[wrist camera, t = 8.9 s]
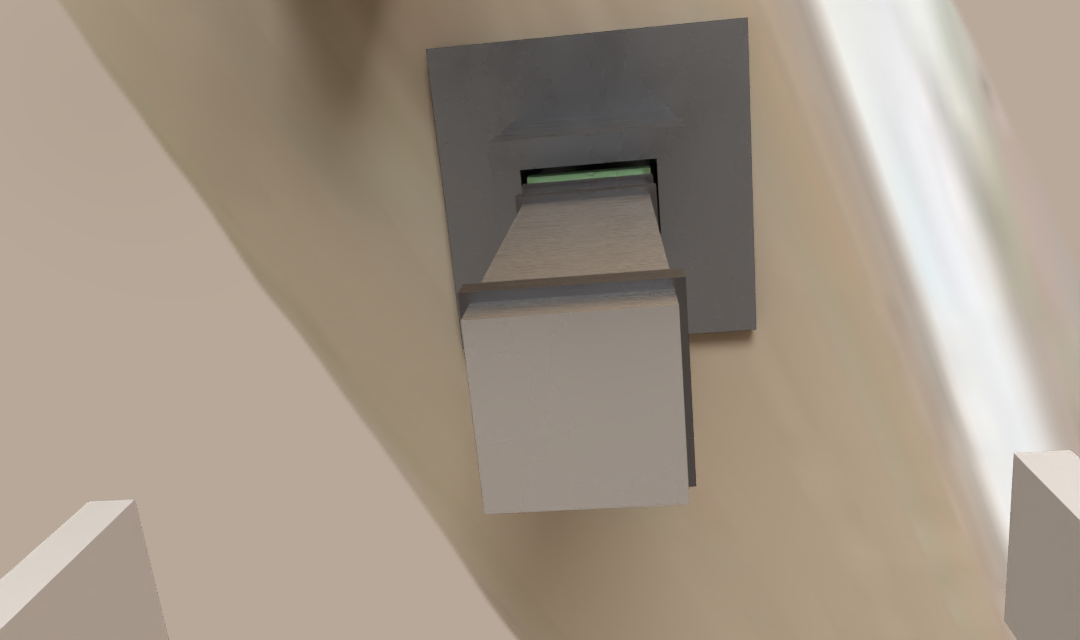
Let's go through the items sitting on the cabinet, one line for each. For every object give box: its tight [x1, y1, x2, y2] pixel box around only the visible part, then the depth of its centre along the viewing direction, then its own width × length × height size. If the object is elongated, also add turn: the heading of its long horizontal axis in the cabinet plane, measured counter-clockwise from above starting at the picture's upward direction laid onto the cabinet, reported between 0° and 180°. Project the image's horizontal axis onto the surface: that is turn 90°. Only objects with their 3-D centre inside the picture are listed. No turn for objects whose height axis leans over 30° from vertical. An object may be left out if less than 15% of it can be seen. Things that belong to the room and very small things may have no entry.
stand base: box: [426, 17, 756, 349], centre depth 43 cm, size 16×16×12 cm
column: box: [457, 165, 696, 514], centre depth 30 cm, size 5×5×22 cm
